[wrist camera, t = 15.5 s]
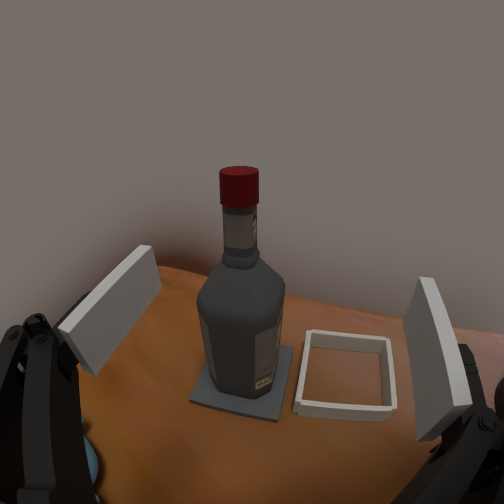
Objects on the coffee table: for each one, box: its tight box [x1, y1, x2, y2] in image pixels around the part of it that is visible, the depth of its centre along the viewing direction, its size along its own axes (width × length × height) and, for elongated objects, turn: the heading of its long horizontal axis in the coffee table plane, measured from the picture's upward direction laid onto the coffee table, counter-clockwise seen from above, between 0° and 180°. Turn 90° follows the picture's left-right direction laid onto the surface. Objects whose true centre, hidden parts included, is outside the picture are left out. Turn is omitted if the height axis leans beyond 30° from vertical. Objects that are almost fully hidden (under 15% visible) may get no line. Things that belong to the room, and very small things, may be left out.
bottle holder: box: [292, 329, 397, 422], centre depth 38 cm, size 15×15×4 cm
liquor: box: [196, 166, 285, 398], centre depth 33 cm, size 9×9×30 cm
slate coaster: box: [189, 345, 294, 423], centre depth 40 cm, size 13×14×1 cm
